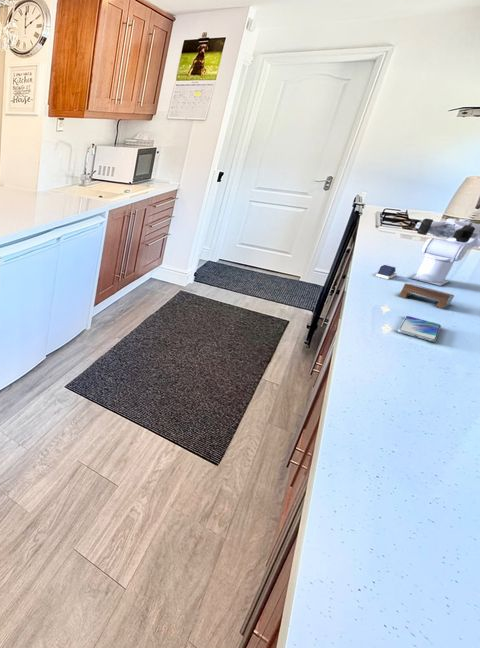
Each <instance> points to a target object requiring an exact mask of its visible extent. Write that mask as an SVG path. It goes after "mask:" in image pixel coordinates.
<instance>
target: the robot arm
mask: <svg viewBox="0 0 480 648" xmlns="http://www.w3.org/2000/svg"><path fill="white" fill-rule="evenodd" d="M414 228H415V229H417V231H416V233H417V234H418V235H422V236H427V234H430V235H432V236H435V237H437V238H439V239H437V238H434V237H431V238H428V239H427V240H426V242H424V245H422V249H421V253H422V254H423V256H424V258H423V260H422V263H421V264H420V266H419V268H418V269H417V270H418V271H417V273H416V274H415V275H413V276H411V277H410V279H412V280H416V281H420V282H424V283H428V284H430V285H431V284H432V285H436V286H443V285H445V284H447V283H449V280H448V279H446V278H447V276H448V274H449V273H450V271H451V269H452V267H453V265H454V262H459V261H461V260H462V259H463V258H464V257H465V256H466V254H467V253H468V251H469V250H471V249H473V248H474V247H480V224H477V223H475V222H472V221H471V219H467V218H463V219H460V220H458V219H455V218H447V219H446V220H445V221H434V219H431V218H423V220H422V221H418V222H417V223H416V224H415V226H414Z"/></svg>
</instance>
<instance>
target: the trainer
mask: <svg viewBox="0 0 480 648" xmlns="http://www.w3.org/2000/svg"><path fill="white" fill-rule="evenodd" d="M397 274H398V273H397V272H396V267H395V266H391V265H388V264H383V265H381V266H380V267H379V269H378V271H377V273H375V277H378V278H381V279H386V280H389V279H391V278H394V277H396V276H397Z"/></svg>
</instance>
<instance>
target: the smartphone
mask: <svg viewBox="0 0 480 648" xmlns="http://www.w3.org/2000/svg"><path fill="white" fill-rule="evenodd" d="M441 327H442V325H441V324H440V323H436V322H433V321H429V320H425V319H422V318H418V317H414V316H409V315H406V316H405V317H404V319H403V321H402V322H401V324H400V325H399V327H398V329H397V331H398V333H401V334H405V335H408V336H411V337H414V338H418V339H422V340H424V341H429V342H433V343H434V342H436V341H437V339H438V335H439V333H440V331H441Z"/></svg>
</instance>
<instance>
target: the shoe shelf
mask: <svg viewBox="0 0 480 648" xmlns="http://www.w3.org/2000/svg"><path fill="white" fill-rule="evenodd" d="M413 294H414V295H418V296H422V297H425V298H430V299H432V300H436V301H438V302H437V304H436V306H435V307H436V308H439V309H441V310H443V309H445V308H447V307H448V306H449V305H451V303H452V301H453V299H454V297H456V296H455V294H452V293H448V292H444V291H440V290H436V289H433V288H430V287H425V286H422V285H418V284H414V283H404V284H403V287H402V288H401V291H400V293H399V295H398V297H400V298H403V299H406V298H408V297H410V296H412V295H413Z"/></svg>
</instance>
